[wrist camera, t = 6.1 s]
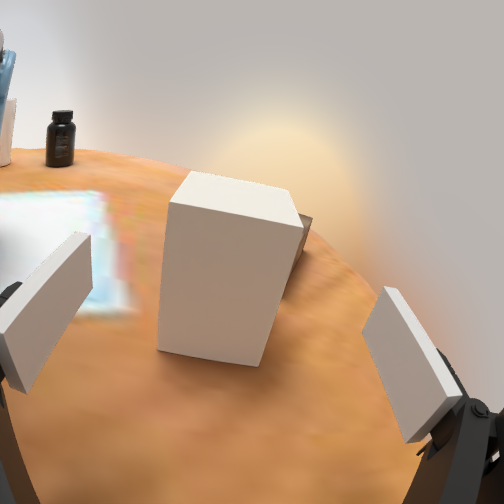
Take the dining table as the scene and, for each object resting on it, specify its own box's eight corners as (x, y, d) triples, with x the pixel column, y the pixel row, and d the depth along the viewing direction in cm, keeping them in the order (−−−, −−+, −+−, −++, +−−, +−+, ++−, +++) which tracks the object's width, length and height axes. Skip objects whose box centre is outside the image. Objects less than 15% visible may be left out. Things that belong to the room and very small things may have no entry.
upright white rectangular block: (258, 366, 24) (303, 227, 19) (157, 349, 23) (169, 201, 18) (255, 306, 31) (287, 189, 26) (174, 292, 30) (191, 170, 25)
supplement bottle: (77, 161, 63) (82, 110, 58) (66, 168, 57) (71, 112, 52) (52, 159, 61) (56, 109, 56) (40, 166, 56) (43, 112, 50)
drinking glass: (-16, 169, 49) (-14, 102, 42) (-8, 161, 54) (-5, 99, 47) (9, 167, 52) (12, 99, 45) (16, 160, 57) (19, 98, 50)
